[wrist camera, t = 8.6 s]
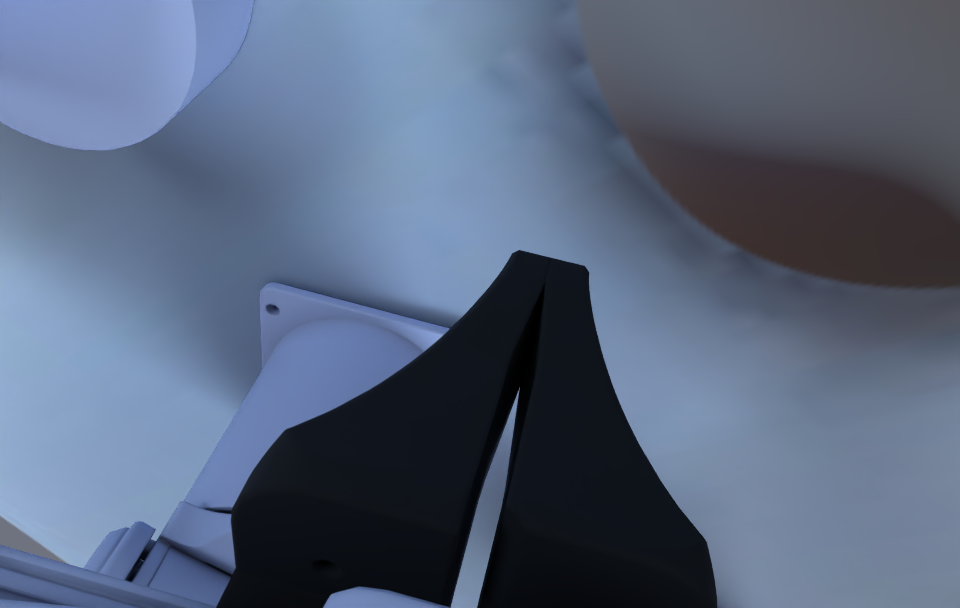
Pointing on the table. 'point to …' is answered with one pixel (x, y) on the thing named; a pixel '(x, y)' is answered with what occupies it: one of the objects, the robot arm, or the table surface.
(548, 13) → the table surface
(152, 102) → the wedge on round base
